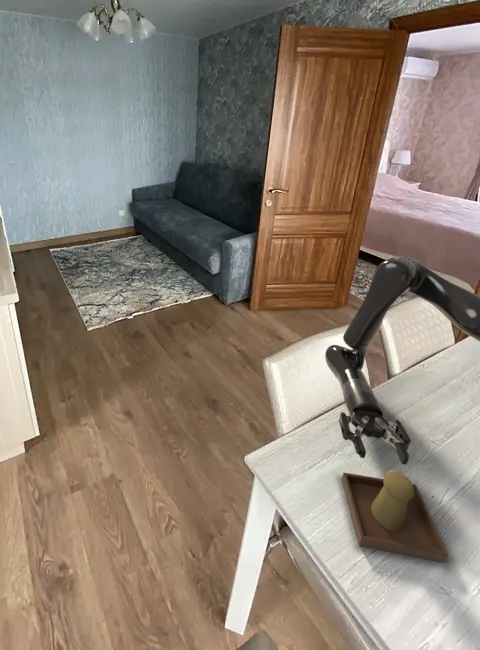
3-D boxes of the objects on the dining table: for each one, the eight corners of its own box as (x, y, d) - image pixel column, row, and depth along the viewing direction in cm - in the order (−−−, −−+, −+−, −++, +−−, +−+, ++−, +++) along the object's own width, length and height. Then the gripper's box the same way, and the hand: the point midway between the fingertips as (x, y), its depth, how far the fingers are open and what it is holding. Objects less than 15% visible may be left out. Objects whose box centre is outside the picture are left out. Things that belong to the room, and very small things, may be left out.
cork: (366, 512, 73) (378, 477, 69) (378, 493, 76) (390, 459, 72) (397, 538, 68) (412, 502, 64) (408, 516, 72) (423, 481, 68)
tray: (413, 491, 77) (416, 484, 76) (444, 563, 65) (448, 555, 64) (341, 479, 80) (343, 472, 79) (358, 546, 68) (361, 538, 67)
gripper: (334, 386, 90) (353, 441, 75) (393, 394, 88) (424, 452, 73) (329, 407, 93) (346, 465, 78) (386, 415, 91) (415, 476, 76)
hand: (384, 458), depth 76 cm, fingers open, 8 cm apart
